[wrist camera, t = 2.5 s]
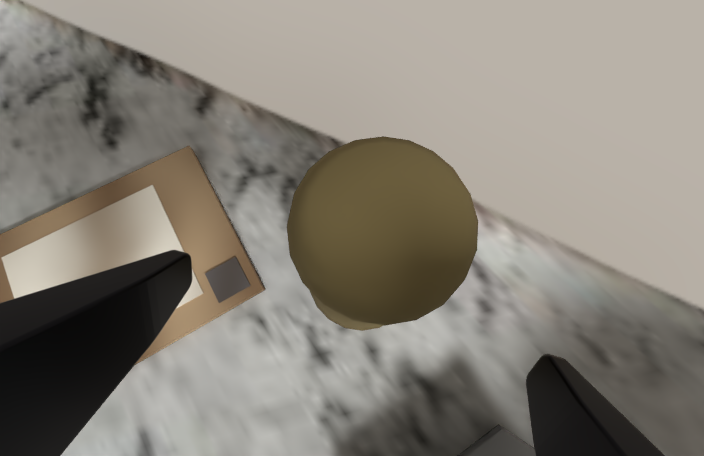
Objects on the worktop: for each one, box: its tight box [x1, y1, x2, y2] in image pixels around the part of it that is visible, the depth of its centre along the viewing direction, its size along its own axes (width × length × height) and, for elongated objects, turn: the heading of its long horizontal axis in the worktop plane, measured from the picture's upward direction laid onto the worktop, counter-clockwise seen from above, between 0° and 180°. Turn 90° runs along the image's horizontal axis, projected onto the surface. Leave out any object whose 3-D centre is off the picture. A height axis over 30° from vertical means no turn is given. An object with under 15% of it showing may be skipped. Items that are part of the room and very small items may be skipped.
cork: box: [287, 137, 478, 331], centre depth 13 cm, size 6×6×11 cm
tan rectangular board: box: [0, 146, 265, 365], centre depth 17 cm, size 12×10×1 cm
